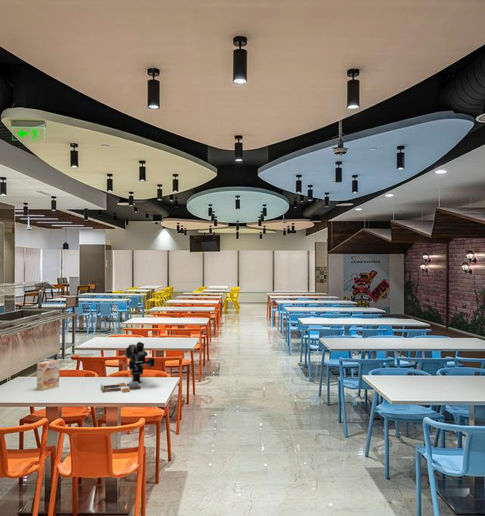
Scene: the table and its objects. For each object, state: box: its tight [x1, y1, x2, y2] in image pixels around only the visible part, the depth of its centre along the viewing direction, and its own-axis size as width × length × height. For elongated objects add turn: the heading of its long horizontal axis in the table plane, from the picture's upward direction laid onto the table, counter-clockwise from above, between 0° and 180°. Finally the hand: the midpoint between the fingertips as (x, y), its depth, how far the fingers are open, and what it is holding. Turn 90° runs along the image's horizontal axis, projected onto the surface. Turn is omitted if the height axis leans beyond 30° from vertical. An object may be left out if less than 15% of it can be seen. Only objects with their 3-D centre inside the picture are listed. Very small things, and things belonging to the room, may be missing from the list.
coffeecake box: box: [36, 359, 60, 391], centre depth 358 cm, size 15×7×20 cm, turn 153°
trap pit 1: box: [118, 382, 127, 388], centre depth 365 cm, size 5×5×2 cm
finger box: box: [100, 383, 141, 394], centre depth 356 cm, size 13×27×3 cm, turn 112°
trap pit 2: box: [121, 387, 131, 393], centre depth 349 cm, size 5×5×2 cm
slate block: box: [128, 381, 139, 388], centre depth 360 cm, size 6×6×4 cm
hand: (143, 369), depth 355 cm, fingers open, 9 cm apart
